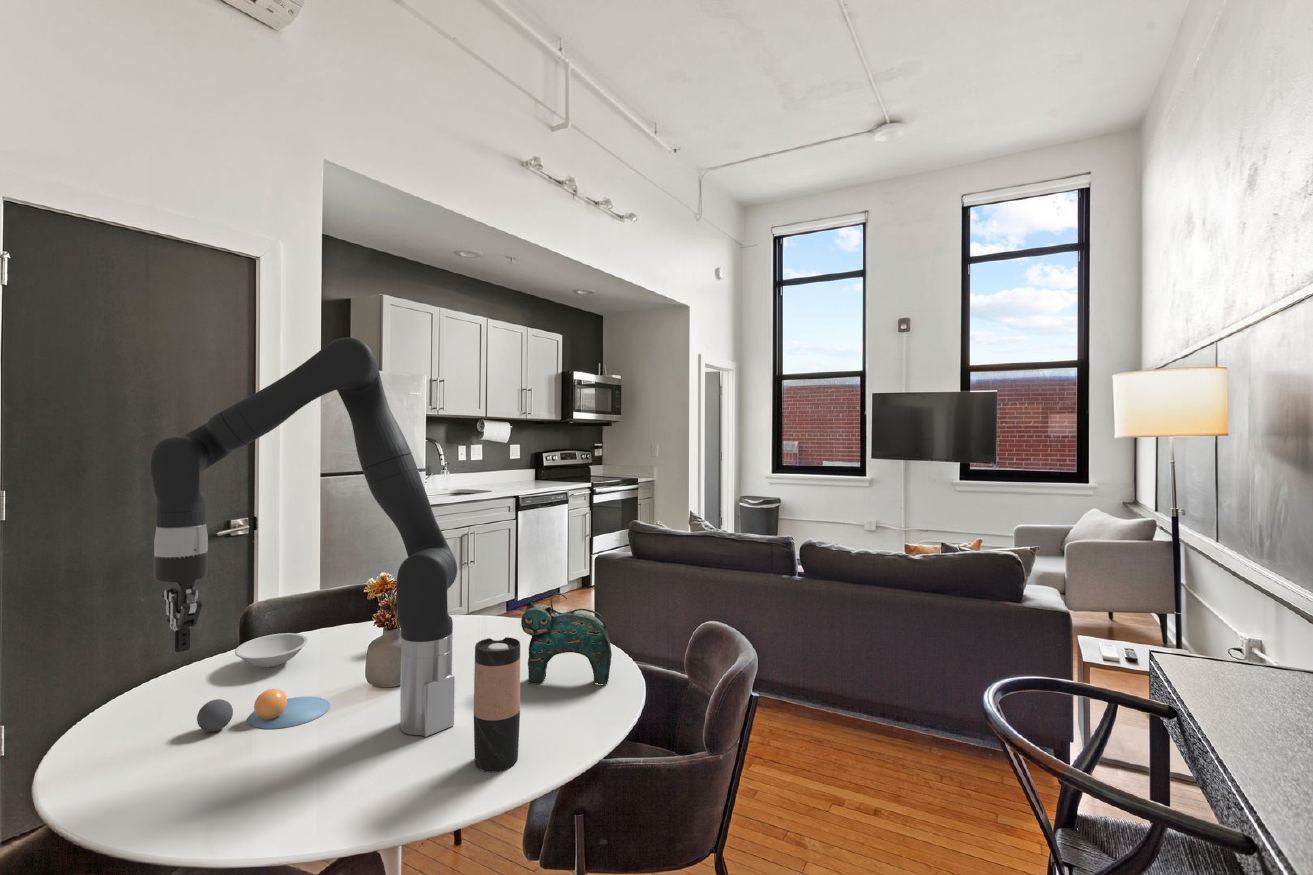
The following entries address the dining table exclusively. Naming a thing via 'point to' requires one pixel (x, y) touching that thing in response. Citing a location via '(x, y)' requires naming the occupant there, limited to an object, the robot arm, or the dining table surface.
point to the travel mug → (496, 703)
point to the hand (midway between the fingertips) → (181, 650)
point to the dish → (271, 649)
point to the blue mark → (293, 713)
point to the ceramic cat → (565, 639)
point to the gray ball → (214, 715)
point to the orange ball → (270, 704)
